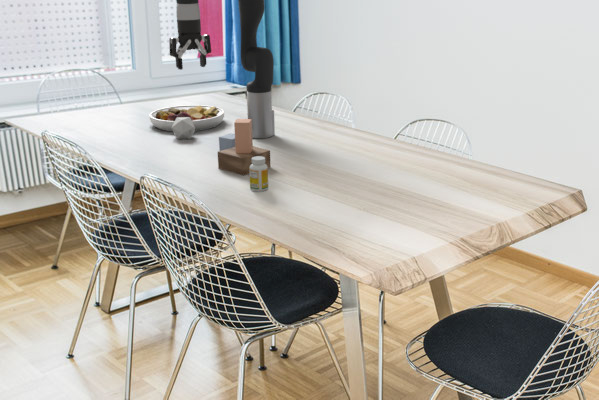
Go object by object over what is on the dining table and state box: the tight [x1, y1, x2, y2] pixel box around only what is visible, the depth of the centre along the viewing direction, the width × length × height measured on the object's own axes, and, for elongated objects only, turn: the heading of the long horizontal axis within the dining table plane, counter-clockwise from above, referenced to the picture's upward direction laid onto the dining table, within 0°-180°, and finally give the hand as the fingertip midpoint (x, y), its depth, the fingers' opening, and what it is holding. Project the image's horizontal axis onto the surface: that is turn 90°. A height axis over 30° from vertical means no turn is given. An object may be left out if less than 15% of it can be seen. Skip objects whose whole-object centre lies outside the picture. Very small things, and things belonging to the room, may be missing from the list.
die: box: [172, 117, 196, 140], centre depth 268 cm, size 8×9×10 cm
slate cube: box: [218, 132, 235, 151], centre depth 248 cm, size 6×6×6 cm
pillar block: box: [234, 118, 254, 153], centre depth 228 cm, size 5×5×10 cm
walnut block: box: [217, 146, 272, 177], centre depth 231 cm, size 12×12×6 cm
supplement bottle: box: [249, 156, 269, 193], centre depth 210 cm, size 5×5×10 cm
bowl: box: [148, 104, 225, 132], centre depth 289 cm, size 30×30×8 cm
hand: (191, 68), depth 236 cm, fingers open, 8 cm apart
